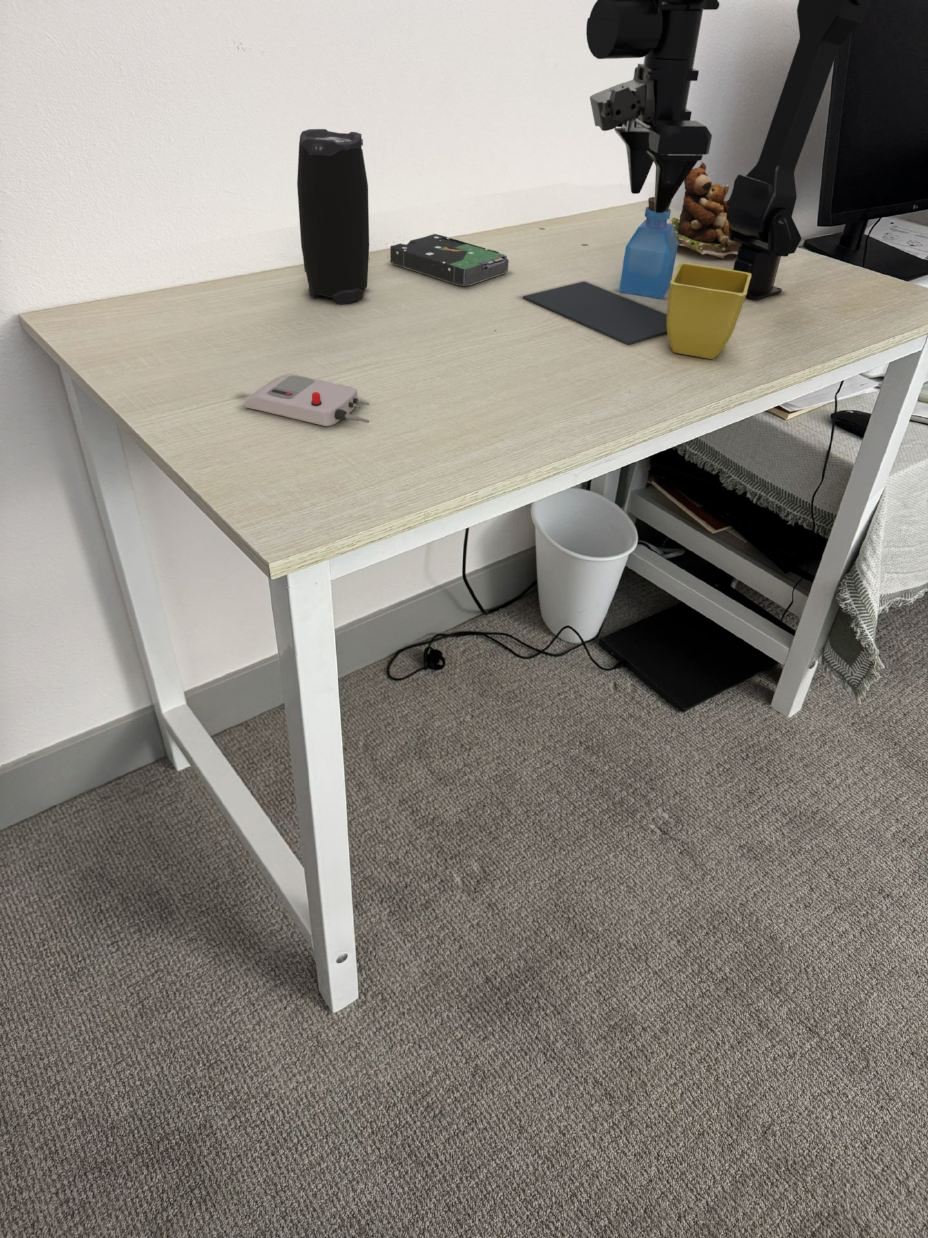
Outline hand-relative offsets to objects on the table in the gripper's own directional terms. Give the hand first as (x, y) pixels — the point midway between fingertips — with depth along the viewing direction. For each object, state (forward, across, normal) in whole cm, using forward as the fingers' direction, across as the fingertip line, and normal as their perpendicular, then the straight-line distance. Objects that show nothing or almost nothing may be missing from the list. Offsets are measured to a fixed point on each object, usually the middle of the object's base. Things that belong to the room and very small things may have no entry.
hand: (646, 202), depth 111 cm
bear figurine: (+14, -29, +22) cm, 39 cm away
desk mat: (+14, 0, -4) cm, 14 cm away
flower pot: (+14, +14, +4) cm, 20 cm away
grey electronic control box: (+14, +26, -44) cm, 53 cm away
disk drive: (+14, -19, -22) cm, 32 cm away
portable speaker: (+14, -9, -39) cm, 42 cm away
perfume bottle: (+14, -9, +5) cm, 18 cm away
